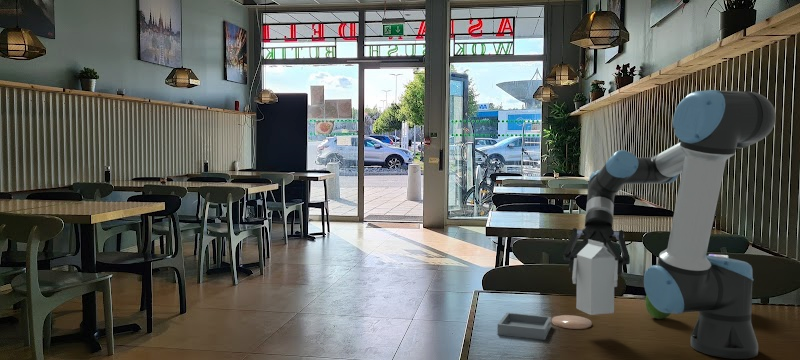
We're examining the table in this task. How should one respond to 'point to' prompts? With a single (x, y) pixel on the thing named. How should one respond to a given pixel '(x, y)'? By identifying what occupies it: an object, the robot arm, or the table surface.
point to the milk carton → (595, 279)
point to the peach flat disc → (571, 322)
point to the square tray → (524, 326)
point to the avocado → (655, 310)
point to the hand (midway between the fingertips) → (594, 282)
